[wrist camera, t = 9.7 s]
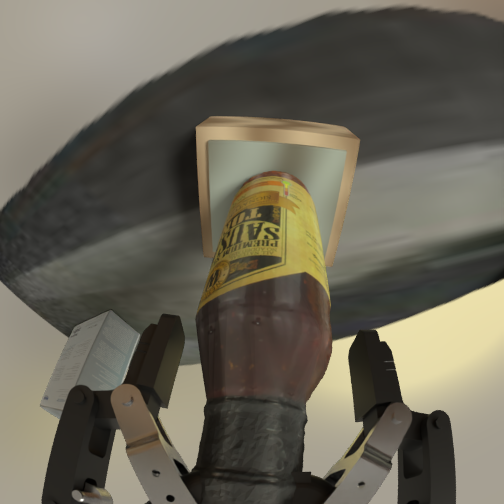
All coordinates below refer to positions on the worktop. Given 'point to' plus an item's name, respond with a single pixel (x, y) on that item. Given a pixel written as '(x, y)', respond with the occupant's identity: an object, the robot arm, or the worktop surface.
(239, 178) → the plinth
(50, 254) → the worktop surface
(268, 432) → the sauce bottle
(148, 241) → the worktop surface
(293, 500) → the robot arm
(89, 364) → the hard drive box
